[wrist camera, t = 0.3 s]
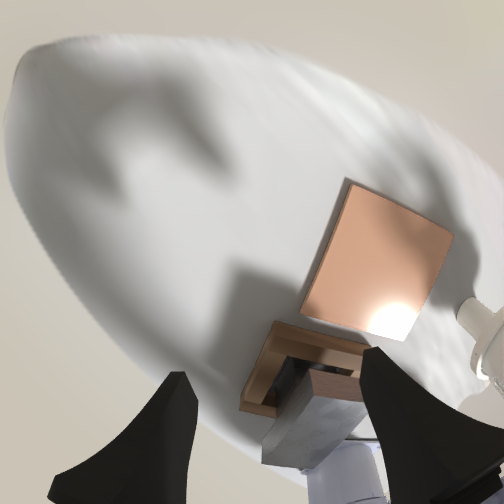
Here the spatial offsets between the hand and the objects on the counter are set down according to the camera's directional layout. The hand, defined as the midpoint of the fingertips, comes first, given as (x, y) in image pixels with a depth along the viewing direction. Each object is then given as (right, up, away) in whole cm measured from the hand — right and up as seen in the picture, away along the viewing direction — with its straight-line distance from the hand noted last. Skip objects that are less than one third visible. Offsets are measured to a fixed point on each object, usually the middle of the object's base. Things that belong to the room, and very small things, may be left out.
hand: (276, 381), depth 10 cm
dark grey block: (+4, -6, +12) cm, 14 cm away
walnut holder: (+4, -6, +12) cm, 14 cm away
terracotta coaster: (+9, +4, +9) cm, 13 cm away
